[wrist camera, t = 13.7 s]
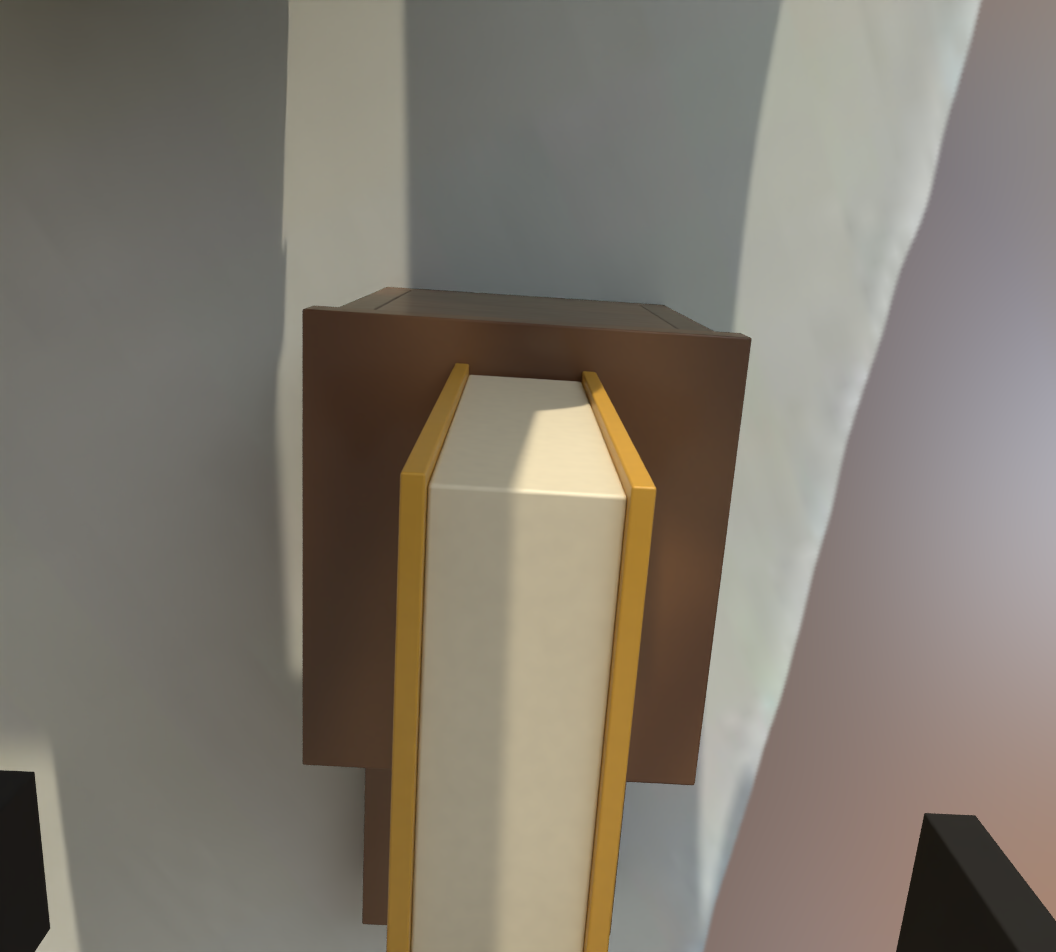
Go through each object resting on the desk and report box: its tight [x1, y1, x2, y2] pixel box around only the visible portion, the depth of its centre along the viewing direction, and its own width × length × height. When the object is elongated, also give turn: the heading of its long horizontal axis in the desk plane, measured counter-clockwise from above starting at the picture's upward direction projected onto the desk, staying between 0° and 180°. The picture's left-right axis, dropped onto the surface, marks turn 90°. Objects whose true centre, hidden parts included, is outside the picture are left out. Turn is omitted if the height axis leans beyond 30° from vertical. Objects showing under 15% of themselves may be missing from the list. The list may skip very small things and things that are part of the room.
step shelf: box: [303, 287, 751, 936], centre depth 36 cm, size 13×30×14 cm, turn 176°
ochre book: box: [386, 363, 656, 952], centre depth 21 cm, size 4×12×12 cm, turn 176°
